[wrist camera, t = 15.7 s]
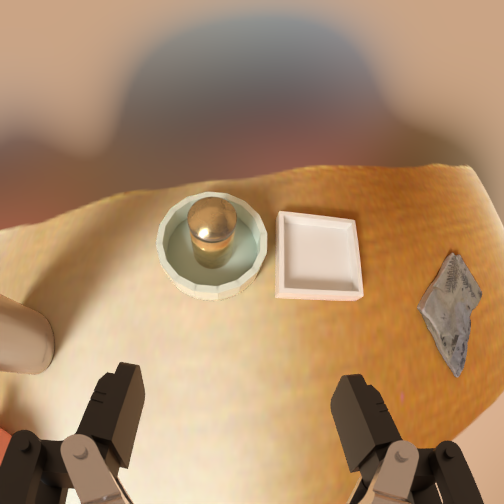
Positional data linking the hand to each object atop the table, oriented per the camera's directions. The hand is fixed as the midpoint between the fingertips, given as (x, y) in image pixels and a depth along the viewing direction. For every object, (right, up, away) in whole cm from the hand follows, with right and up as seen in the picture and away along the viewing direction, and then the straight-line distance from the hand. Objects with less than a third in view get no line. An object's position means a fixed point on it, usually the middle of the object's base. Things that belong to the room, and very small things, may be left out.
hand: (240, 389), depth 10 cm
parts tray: (+9, +4, +28) cm, 30 cm away
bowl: (-5, +5, +27) cm, 28 cm away
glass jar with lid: (-5, +5, +26) cm, 27 cm away
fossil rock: (+35, -5, +28) cm, 45 cm away
